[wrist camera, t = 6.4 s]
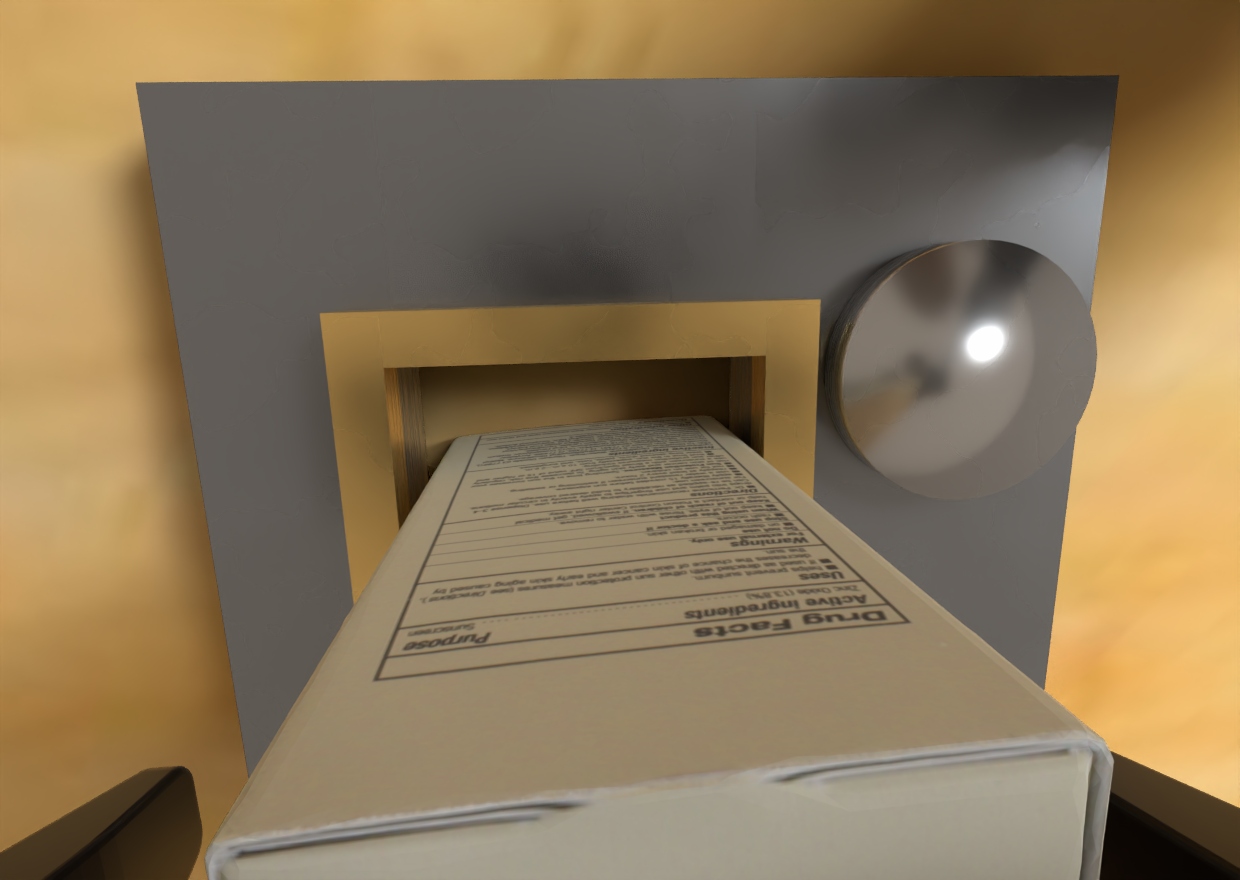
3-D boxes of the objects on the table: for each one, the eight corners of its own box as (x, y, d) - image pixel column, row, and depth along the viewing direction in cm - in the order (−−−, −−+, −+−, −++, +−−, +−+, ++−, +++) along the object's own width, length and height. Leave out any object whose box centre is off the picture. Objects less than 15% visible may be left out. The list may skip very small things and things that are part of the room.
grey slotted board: (1049, 100, 15) (1161, 59, 13) (987, 712, 19) (1063, 792, 16) (194, 109, 14) (98, 65, 11) (289, 759, 18) (234, 853, 15)
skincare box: (472, 605, 17) (254, 1344, 5) (451, 430, 16) (126, 853, 4) (734, 582, 18) (1087, 1227, 6) (730, 409, 17) (1146, 746, 5)
